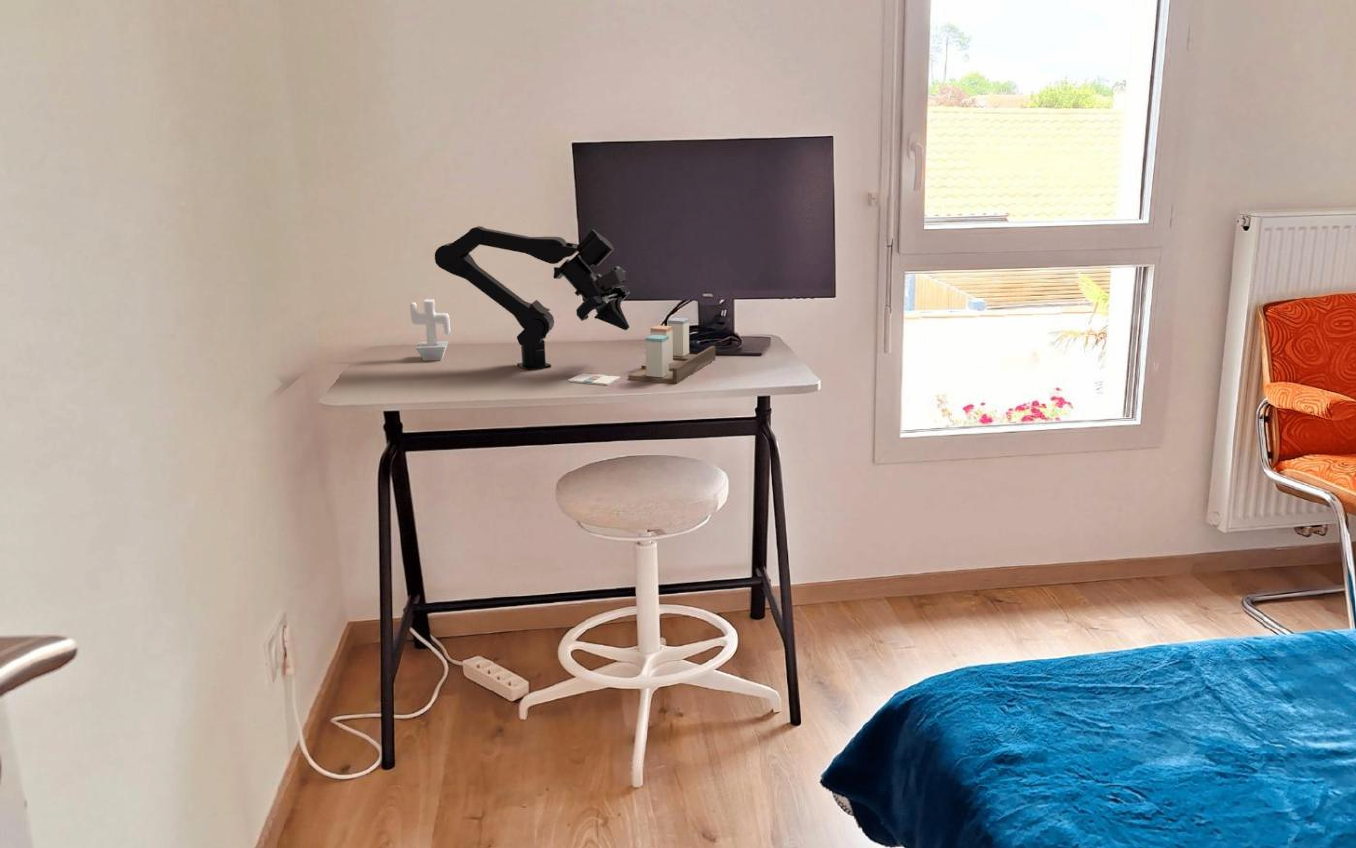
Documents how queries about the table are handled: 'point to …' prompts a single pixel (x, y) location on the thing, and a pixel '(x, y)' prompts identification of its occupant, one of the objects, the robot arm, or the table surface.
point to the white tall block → (657, 355)
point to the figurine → (430, 330)
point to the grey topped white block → (680, 336)
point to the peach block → (666, 332)
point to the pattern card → (594, 379)
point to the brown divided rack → (678, 367)
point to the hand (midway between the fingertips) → (627, 328)
